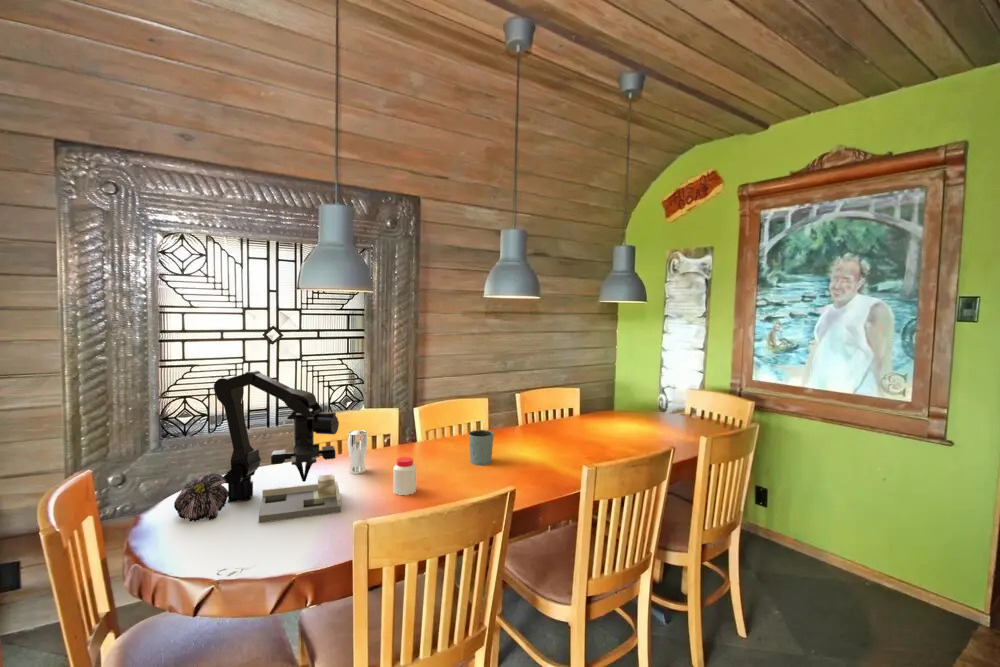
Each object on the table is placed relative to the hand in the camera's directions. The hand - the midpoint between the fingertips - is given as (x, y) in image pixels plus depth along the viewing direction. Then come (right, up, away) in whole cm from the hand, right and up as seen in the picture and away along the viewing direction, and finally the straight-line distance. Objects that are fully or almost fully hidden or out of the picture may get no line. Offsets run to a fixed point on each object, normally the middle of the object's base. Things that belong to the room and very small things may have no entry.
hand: (304, 481), depth 157 cm
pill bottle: (+30, -7, +11) cm, 33 cm away
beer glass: (+9, -5, +29) cm, 31 cm away
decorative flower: (-27, -7, -10) cm, 29 cm away
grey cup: (+55, -6, +43) cm, 70 cm away
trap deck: (0, -7, -4) cm, 8 cm away
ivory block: (+6, -5, +3) cm, 8 cm away
